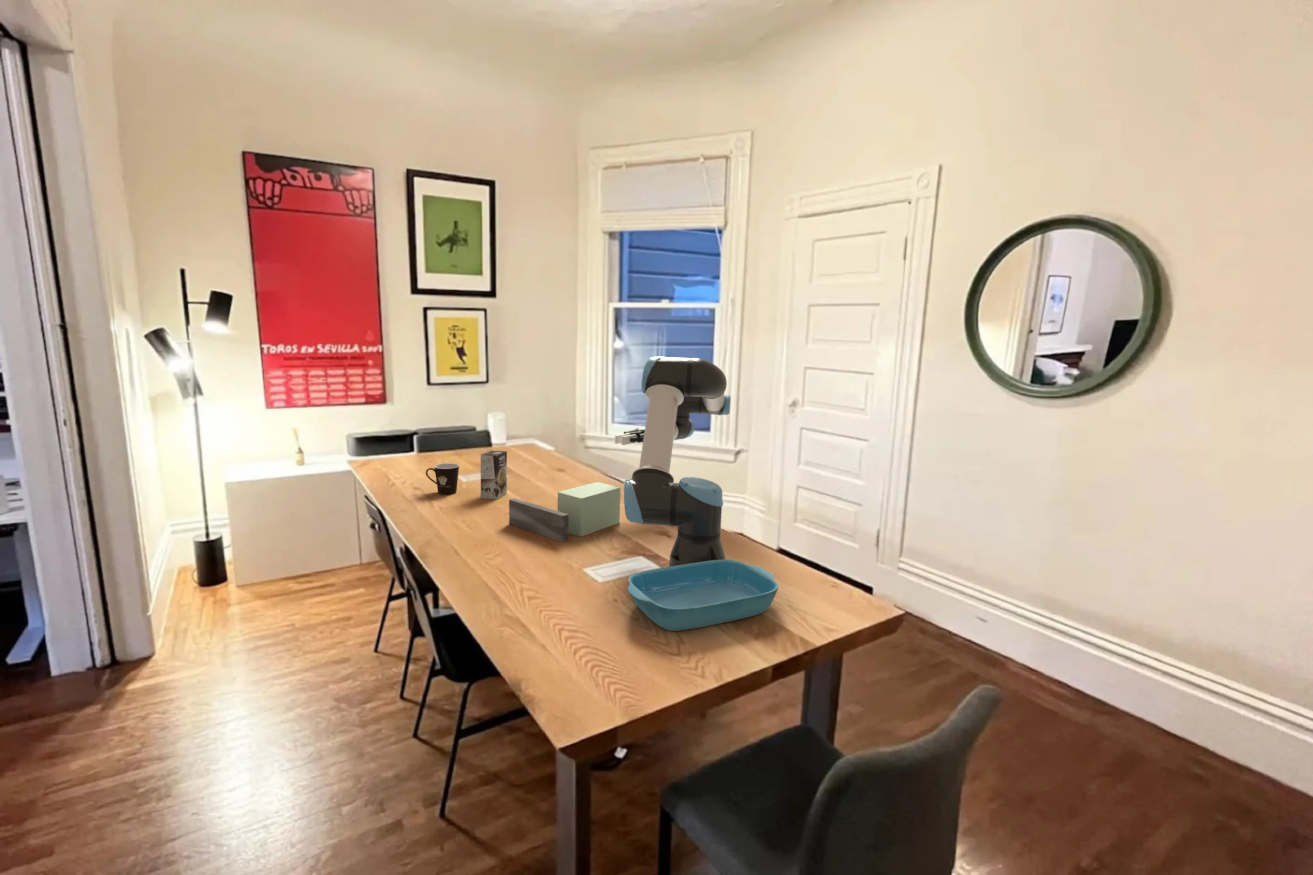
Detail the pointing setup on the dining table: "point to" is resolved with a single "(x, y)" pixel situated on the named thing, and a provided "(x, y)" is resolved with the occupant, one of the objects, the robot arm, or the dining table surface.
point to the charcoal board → (539, 519)
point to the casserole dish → (702, 593)
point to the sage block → (590, 507)
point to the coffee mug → (445, 478)
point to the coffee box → (493, 474)
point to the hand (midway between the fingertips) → (619, 440)
